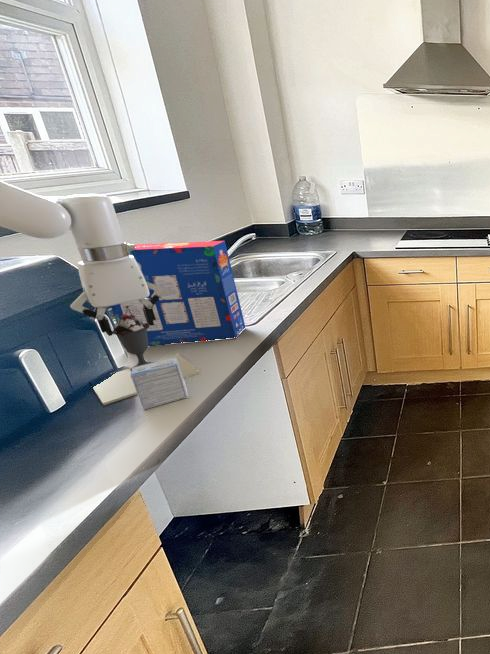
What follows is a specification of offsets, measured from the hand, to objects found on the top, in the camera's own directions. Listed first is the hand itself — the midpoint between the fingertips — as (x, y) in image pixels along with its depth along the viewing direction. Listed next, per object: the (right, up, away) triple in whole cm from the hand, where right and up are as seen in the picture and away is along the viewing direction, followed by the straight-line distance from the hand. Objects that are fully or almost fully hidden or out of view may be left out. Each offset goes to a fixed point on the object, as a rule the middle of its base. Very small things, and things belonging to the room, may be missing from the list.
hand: (130, 328), depth 96 cm
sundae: (0, -10, +4) cm, 10 cm away
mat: (-2, -13, +6) cm, 14 cm away
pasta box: (-8, -5, +28) cm, 30 cm away
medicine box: (+11, -16, -3) cm, 20 cm away
